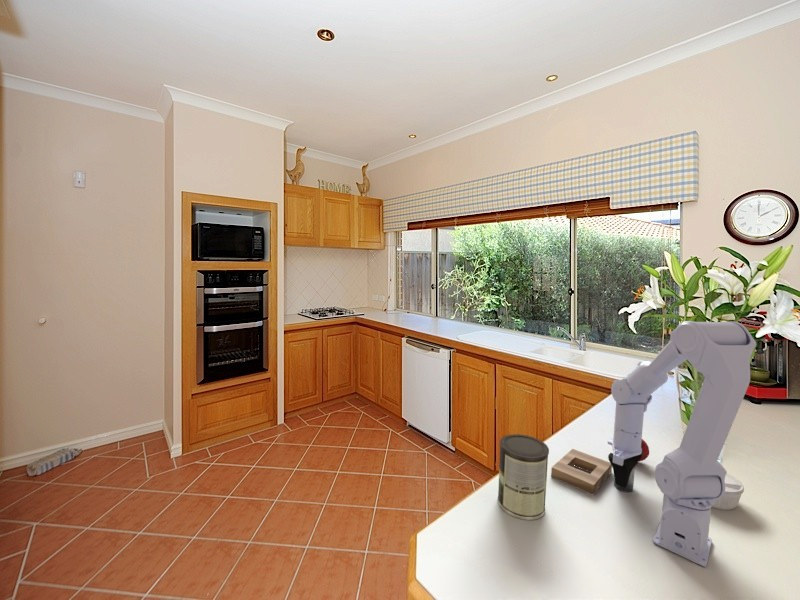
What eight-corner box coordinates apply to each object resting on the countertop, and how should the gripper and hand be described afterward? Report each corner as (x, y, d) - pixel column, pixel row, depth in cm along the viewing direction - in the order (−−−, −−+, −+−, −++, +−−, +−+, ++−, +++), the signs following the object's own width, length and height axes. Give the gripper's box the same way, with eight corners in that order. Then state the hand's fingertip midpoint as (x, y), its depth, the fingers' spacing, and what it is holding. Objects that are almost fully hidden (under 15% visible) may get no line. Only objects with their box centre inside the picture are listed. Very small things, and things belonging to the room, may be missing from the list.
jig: (593, 495, 83) (593, 485, 83) (551, 476, 90) (551, 467, 90) (611, 472, 93) (612, 463, 93) (572, 457, 100) (572, 448, 100)
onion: (652, 468, 95) (654, 440, 94) (628, 466, 96) (630, 438, 95) (642, 457, 101) (644, 430, 100) (619, 455, 102) (622, 428, 101)
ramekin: (718, 517, 76) (721, 494, 76) (667, 486, 87) (669, 466, 87) (754, 509, 79) (757, 487, 79) (700, 480, 90) (702, 460, 90)
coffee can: (488, 495, 82) (490, 437, 81) (523, 486, 86) (526, 431, 85) (517, 525, 73) (521, 460, 72) (556, 514, 76) (559, 452, 75)
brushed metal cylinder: (630, 494, 84) (632, 470, 83) (611, 486, 87) (613, 463, 86) (635, 487, 86) (636, 464, 86) (616, 480, 89) (618, 457, 89)
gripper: (618, 415, 93) (614, 463, 94) (600, 431, 83) (596, 486, 84) (650, 423, 88) (645, 475, 89) (634, 442, 78) (630, 500, 79)
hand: (623, 481), depth 86 cm, fingers closed on brushed metal cylinder, 4 cm apart
